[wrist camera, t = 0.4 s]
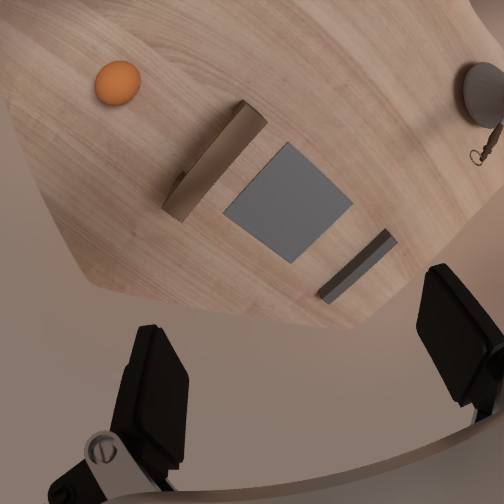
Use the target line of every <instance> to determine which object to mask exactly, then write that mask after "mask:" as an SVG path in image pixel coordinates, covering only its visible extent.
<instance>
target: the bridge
mask: <svg viewBox="0 0 504 504" xmlns="http://www.w3.org/2000/svg"><path fill="white" fill-rule="evenodd" d="M267 123H268V122H267V121H266V120H265V118H264V117H263V116H262V115H261V114H260V113H259V112H258V111H257V110H255V109H254V108H253V107H252V106H251V105H249V104H248V103H247V102H246V101H244V100H242V101H241V102H240V103H239V105H238V106H237V107H236V108H235V109H234V110H233V118H232V120H231V121H230V122H229V123H228V124H227V125H226V127H225V128H224V129H223V130H222V131H221V132H220V134H219V135H218V136H217V137H216V138H215V139H214V141H213V142H212V143H211V144H210V145H209V147H208V148H207V149H206V150H205V152H204V153H203V154H202V155H201V156H200V158H199V159H198V160H197V161H196V163H195V164H194V165H193V166H192V168H191V169H190V170H189V171H188V173H187V174H186V173H185V172H182V173H181V174H180V176H179V177H178V178H177V180H176V181H175V182H174V184H173V186H172V188H171V190H170V192H169V194H168V196H167V198H166V200H165V202H164V204H163V206H162V208H161V209H162V210H164V211H165V212H167V213H168V214H170V215H171V216H172V217H174V218H175V219H177V220H178V221H180V222H181V223H183V221H184V220H185V219H186V218H187V216H188V215H189V214H190V213H191V211H192V210H193V209H194V208H195V206H196V205H197V204H198V203H199V201H200V200H201V199H202V198H203V197H204V195H205V194H206V193H207V192H208V191H209V189H210V188H211V187H212V186H213V185H214V183H215V182H216V181H217V180H218V179H219V178H220V176H221V175H222V174H223V173H224V172H225V171H226V169H227V168H228V167H229V166H230V165H231V164H232V162H233V161H234V160H235V159H236V158H237V157H238V156H239V154H240V153H241V152H242V151H243V150H244V149H245V148H246V146H247V145H248V144H249V143H250V142H251V141H252V140H253V139H254V138H255V136H256V135H257V134H258V133H259V132H260V131H261V130H262V129H263V128H264V127H265V125H266V124H267Z"/></svg>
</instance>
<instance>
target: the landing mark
mask: <svg viewBox="0 0 504 504" xmlns="http://www.w3.org/2000/svg"><path fill="white" fill-rule="evenodd" d="M352 204H353V203H352V202H351V201H350V200H349V199H348V198H347V197H346V196H345V195H344V194H343V193H342V192H341V191H340V190H339V189H338V188H337V187H336V186H335V185H334V184H333V183H332V182H331V181H330V180H329V179H328V178H327V177H326V176H325V175H324V174H323V173H322V172H321V171H320V170H318V169H317V168H316V167H315V166H314V165H313V164H312V163H311V162H310V161H309V160H308V159H307V158H305V157H304V156H303V155H302V154H301V153H300V152H299V151H298V150H297V149H295V148H294V147H293V146H292V145H291V144H290V143H289V142H287V143H286V144H285V146H284V147H283V148H282V149H281V150H280V151H279V152H278V153H277V154H276V155H275V156H274V157H273V158H272V160H271V161H270V162H269V163H268V164H267V165H266V166H265V167H264V168H263V169H262V170H261V172H260V173H259V174H258V175H257V176H256V177H255V178H254V179H253V180H252V181H251V183H250V184H249V185H248V186H247V187H246V188H245V189H244V190H243V191H242V193H241V194H240V195H239V196H238V197H237V198H236V199H235V200H234V202H233V203H232V204H231V205H230V206H229V207H228V208H227V209H226V211H225V212H224V213H223V214H224V215H226V216H227V217H228V218H230V219H231V220H233V221H234V222H235V223H237V224H238V225H239V226H241V227H242V228H243V229H245V230H246V231H247V232H249V233H250V234H252V235H253V236H254V237H256V238H257V239H258V240H260V241H261V242H262V243H264V244H265V245H266V246H268V247H269V248H271V249H272V250H273V251H275V252H276V253H277V254H279V255H280V256H281V257H283V258H284V259H285V260H287V261H288V262H289V263H291V264H292V263H293V262H294V261H295V260H296V259H297V258H298V257H299V256H300V255H301V254H302V253H303V252H304V251H305V250H306V249H307V248H308V247H309V246H310V245H311V244H312V243H313V242H315V241H316V240H317V239H318V238H319V237H320V236H321V235H322V234H323V233H324V232H325V231H326V230H327V229H328V228H329V227H330V226H331V225H332V224H333V223H334V222H335V221H336V220H337V219H338V218H339V217H340V216H341V215H342V214H343V213H344V212H345V211H346V210H347V209H348V208H349V207H350V206H351V205H352Z"/></svg>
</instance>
